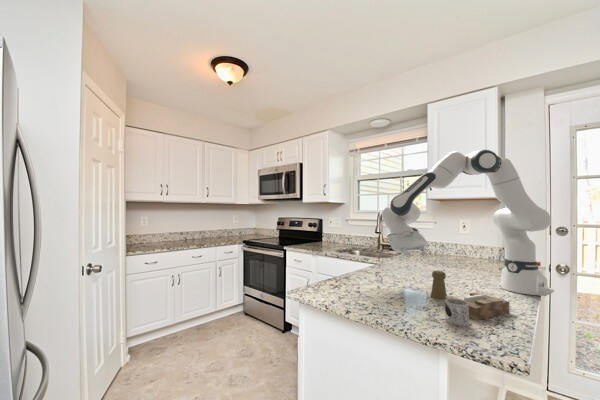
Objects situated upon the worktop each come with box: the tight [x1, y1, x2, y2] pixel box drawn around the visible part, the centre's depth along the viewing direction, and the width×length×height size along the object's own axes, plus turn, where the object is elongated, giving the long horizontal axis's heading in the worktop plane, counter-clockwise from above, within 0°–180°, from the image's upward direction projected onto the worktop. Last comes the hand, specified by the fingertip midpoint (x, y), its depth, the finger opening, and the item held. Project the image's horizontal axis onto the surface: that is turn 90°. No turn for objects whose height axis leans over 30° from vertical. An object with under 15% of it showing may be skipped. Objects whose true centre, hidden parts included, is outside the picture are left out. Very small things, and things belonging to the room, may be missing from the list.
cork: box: [430, 270, 448, 301], centre depth 114 cm, size 6×6×11 cm
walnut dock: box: [444, 291, 510, 321], centre depth 99 cm, size 18×12×5 cm, turn 113°
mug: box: [444, 299, 470, 328], centre depth 86 cm, size 10×7×7 cm
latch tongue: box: [463, 293, 485, 303], centre depth 100 cm, size 9×1×4 cm, turn 113°
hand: (417, 256), depth 125 cm, fingers open, 8 cm apart
